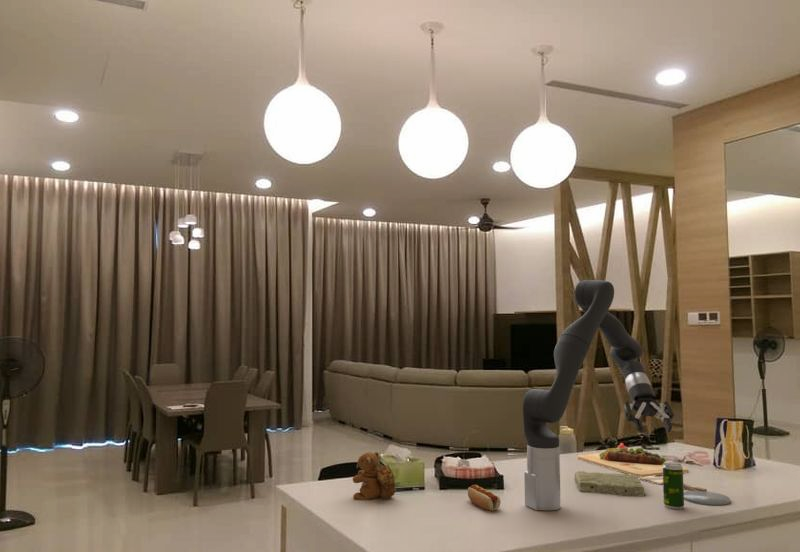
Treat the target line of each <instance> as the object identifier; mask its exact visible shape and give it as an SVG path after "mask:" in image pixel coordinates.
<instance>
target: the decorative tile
mask: <svg viewBox="0 0 800 552" xmlns="http://www.w3.org/2000/svg"><path fill="white" fill-rule="evenodd" d="M574 481H575V484H576V487H577V488H578V489H577V490H578V491H579V492H580V493H581V492H582V493H597V492H599V493H600V494H608V493H609V494H610V495H618V494H622V495H621V496H637V495H645V496H646V494H645V493H646V492H645V487H644V485H643V483H641V482H642V480H640V478H639V477H637V476H636V475H629V474H625V473H613V472H612V473H610V472H609V473H608V472H589V471H588V472H586V471H583V470H581V471H576V472H575V473H574ZM599 493H598V494H599Z"/></svg>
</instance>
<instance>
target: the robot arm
mask: <svg viewBox="0 0 800 552" xmlns="http://www.w3.org/2000/svg"><path fill="white" fill-rule="evenodd" d="M614 296H615V288H614V285H613V284H612V282H610V281H607V280H599V279H595V280H594V279H585V280H580V281H578V283H577V284H576V285H575V287H574V299H575V302H576V304H577V306H578V307H579V308H580V309H581V310H582V311H583V312H584V314H583V315H582V316H581V317H579V318H578V319H576V320H575V321H573V322H572V323H571V324H569V326H567V327H566V328H565V329H564V330H563V331H562V333H561V334H560V336H559V338H558V340H557V341H556V345H555V347H554V350H553V359H554V365H555V371H556V373H555V374H556V375H555V378H554V381H553V383H552V385H551V387H550V388H549V389H539V388H532V389H529V390H528V391H527V392H525V395H524V397H523V401H522V415H523V416H522V419H523V432H524V437H525V439H526V465H527V466H526V468H527V470H526V471H524V473H523V474H524V505H525V506H526V507H528V508H531V509H532V510H534V511H548V512H549V511H556V510H559V509H561V507H562V506H561V463H560V461H561V459H560V455H561V454H560V437H559V436H558V435H557V434H556V433H555V432H553V431H552V430H551V429H550V428H549V426H548V425H547V423H548V424H555V423H558V422H559V421H560V420H561V419H562V417H563V416H564V414H565V412H566V410H567V406H568V403H569V400H570V396H571V393H572V391H573V388H574V385H575V381H576V379H577V377H578V374H579V371H580V370H581V367H582V365H583V362H584V361H585V359H586V357H587V355H588V352H589V349H590V348H591V345H592V342H593V340H594V337H595V336H596V334H597V331H598V329H599V330H600V332H601V333H602V335H603V336H604V338H605V339H606V341H607V343H608V344H609V346H611V347H610V350H609V355H610V357H611V359H612V361H613V362H614V363H615V364H616V366H617V367H618V368H619V369H620V371H621V373H622V375H623V378H624V381H625V386H626V390H627V393H628V396H629V398H630V401H631V403H630V402H629V401H625V402H624V405H623V411H624V414H625V417H626V418H625V419H626V421H627V422H633V423H634V426H635V429H636V430H637V431H638V433H643V431H644V425H643V424H642V421H641V416H642V417H645V418H647V417H652V418H654V417H655V418H656V419H657V420H660V421H661V422H663V426H664V428H665V431H666V433H670V432H671V431H672V428H673V425H672V421H673V419H674V417H675V413H674V412H673V410H672V407H671V406H670V404H669V402H668V401H664V402H660V403H659V401H658V400H657V397H656V394H655V391H654V389H653V386H652V384H651V381H650V380H649V378H648V376H647V372H646V371H645V368H644V366H643V363H641V362H640V361H638V359H641V357H642V356H643V351H644V350H643V348H642V345H641V344H640V343H639V341H638V340H637V339H635V338H634V337H632V336H631V335H630V334H629V333H628V332H627V330H626V327H625V326H624V324H623V323H622V322H621V320H620V319H619V318H617V317H616V316H615V315H614V314H612V313H611V312H609V310H610V308H611V306H612V304H613V301H614ZM632 409H633V410H635V412H636V413H635V415H633V413H632V412H633V411H632Z"/></svg>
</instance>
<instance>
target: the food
mask: <svg viewBox="0 0 800 552" xmlns="http://www.w3.org/2000/svg"><path fill="white" fill-rule="evenodd" d="M467 497H468V498H469V501H470V502H471V503H473V504H475V505H476V506H477V507H479V508H482V509H484V510H486V511H489V512H490V511H491V512H493V511H497V510H498V509H499V507H500V505H501V499H500V497H499V496H498V495H496V494H494V493H493V492H492V491H489V490H487V489H485V488H483V487H481V486H479V485H477V484H472V485H470V486H469V487H468V488H467Z"/></svg>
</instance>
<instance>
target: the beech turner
mask: <svg viewBox="0 0 800 552" xmlns="http://www.w3.org/2000/svg"><path fill="white" fill-rule="evenodd" d="M639 479H641V480H640V481H643V480H645V482H647V481H649V482H648V483H651V482H653V483H652V484H655V483H657V484H656V485H659V484H661V485H663V477H662V478H661V477H659V476H647V477H639ZM683 486H684V490H687V489H688V490H687V491H706V492H708V489H707V488H703V487H699V486H696V485H695V486H694V485H691V484H687V483H684V482H683Z"/></svg>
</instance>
